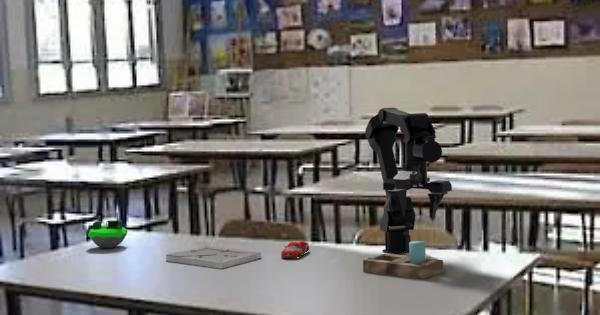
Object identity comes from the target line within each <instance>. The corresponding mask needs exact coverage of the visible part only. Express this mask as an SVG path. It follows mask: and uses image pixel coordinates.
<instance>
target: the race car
mask: <svg viewBox="0 0 600 315" xmlns="http://www.w3.org/2000/svg"><path fill="white" fill-rule="evenodd" d="M283 247H284V249H283V250H282V251H281V252H280V253H281V254H280V255H281V256H280V257H281V258H282V257H284V258H283V259H296V258H297V257H299V256H301V255H302V254H304V253H305V252H307V251H308V250H309V251H310V246H309V243H308V242H306V241H305V240H304V241H303V240H293V241H290V242H289V243H288V244H287V245H284V246H283ZM304 255H305V254H304ZM301 257H302V256H301Z"/></svg>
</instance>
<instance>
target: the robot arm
mask: <svg viewBox="0 0 600 315" xmlns="http://www.w3.org/2000/svg"><path fill="white" fill-rule="evenodd" d="M398 131H400V132H401V133H403V135H404V138H403V140H402V141H403V143H405V144H404V146H405V149H404V151H405V154H404V155H405V163H403V164H402V169H401V171H399V170H398V167H397V161H396V158H395V153H394V145H395V143H396V140H397V134H398ZM436 133H437V131H436V130H435V126H434V125H433V123H432V119H431V118H430V117H429V115H428V114H427V113H426V112H419V113H417V112H414V113H412V112H411V113H409V112H407V111H403V110H400V109H398V108H396V107H383V108H380V109H379V110H378V113H377V114H376V115H375V116H373V117H372V118H371V119H370V120H368V123H367V125H366V127H365V133H364V134H365V137H366V139H367V142H368V144H369V147H370V148H371V149H372V150H373V151H374V152H375V153H376V157H377V160H378V164H379V169H380V174H381V177H382V190H384V192H385V197H386V201H385V204H384V206H383V214H382V217H381V218H380V220H379V228H380V231H383V232H384V242H385V243H384V244H385V248H384V249H382V250H381V251H382V253H383V252H384V253H389V254H398V255H402V254H405V253H407V252H409V242H412V240H411V235H410V231H414V229H415V224H416V223H415V222H416V212H415V209H414V207H413V200H412V198H411V197H410V196H407V193H408V192H407V191H409V190H412V189H415V190H416V189H418V190H428V191H429V192H430V193H427V196H428V198H429V217H430V219H434V218H435V216H436V213H437V211H438V208H439V206H440V204H441V202H442V200H443V198H444V196H445V195H447V194H448V193H449V192H452V190H453V188H452V187H453V185H452V182H450V180H446V179H445V180H442V179H437V180H432V181H431V178H430V177H428V168H429V167H430V165H431V164H430V163H436V162H438V161H439V160H440V159H441V157H442V154H443V148H442V147H441V146H442V145H441V144H440V143H439V142H438V141H436V138H437V136H436Z"/></svg>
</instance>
